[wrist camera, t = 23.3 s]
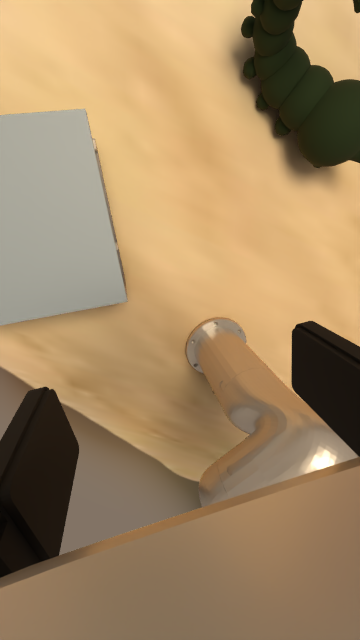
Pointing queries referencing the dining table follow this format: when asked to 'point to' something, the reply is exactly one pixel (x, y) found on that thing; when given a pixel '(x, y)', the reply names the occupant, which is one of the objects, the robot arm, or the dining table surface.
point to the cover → (53, 219)
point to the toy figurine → (302, 87)
